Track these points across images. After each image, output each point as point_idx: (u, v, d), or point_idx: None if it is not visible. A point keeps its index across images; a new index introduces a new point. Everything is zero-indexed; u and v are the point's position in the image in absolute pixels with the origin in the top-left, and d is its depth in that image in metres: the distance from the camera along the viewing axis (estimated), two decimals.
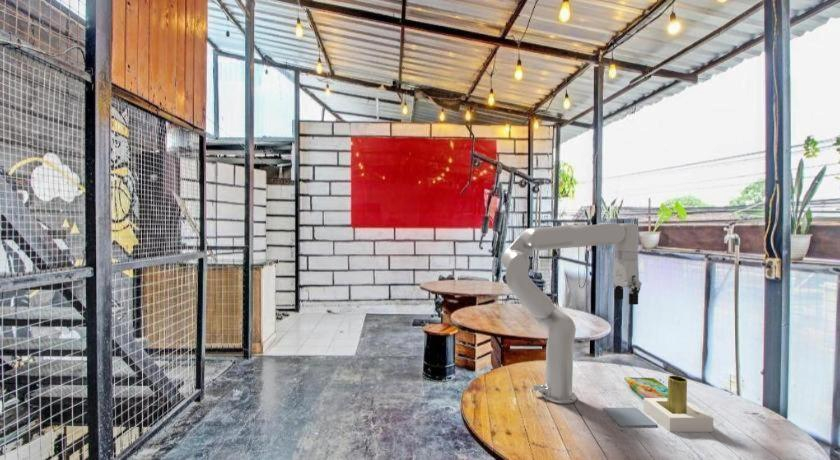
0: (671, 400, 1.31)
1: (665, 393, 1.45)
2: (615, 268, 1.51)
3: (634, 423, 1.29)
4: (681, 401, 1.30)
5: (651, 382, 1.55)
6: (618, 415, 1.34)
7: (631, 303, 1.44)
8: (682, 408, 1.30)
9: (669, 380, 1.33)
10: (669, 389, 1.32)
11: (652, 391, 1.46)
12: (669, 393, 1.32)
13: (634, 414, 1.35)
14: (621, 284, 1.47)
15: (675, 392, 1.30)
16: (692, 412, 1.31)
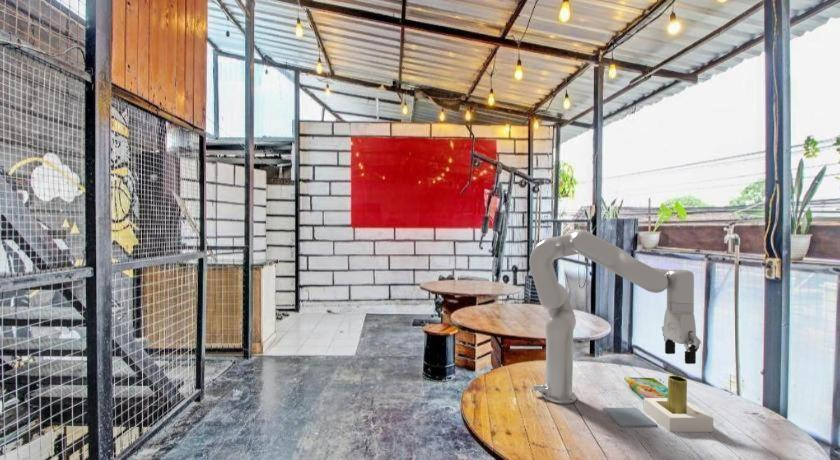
0: (671, 400, 1.31)
1: (665, 393, 1.45)
2: (666, 320, 1.34)
3: (634, 423, 1.29)
4: (681, 401, 1.30)
5: (651, 382, 1.55)
6: (618, 415, 1.34)
7: (688, 362, 1.27)
8: (682, 408, 1.30)
9: (669, 380, 1.33)
10: (669, 389, 1.32)
11: (652, 391, 1.46)
12: (669, 393, 1.32)
13: (634, 414, 1.35)
14: (675, 339, 1.30)
15: (675, 392, 1.30)
16: (692, 412, 1.31)
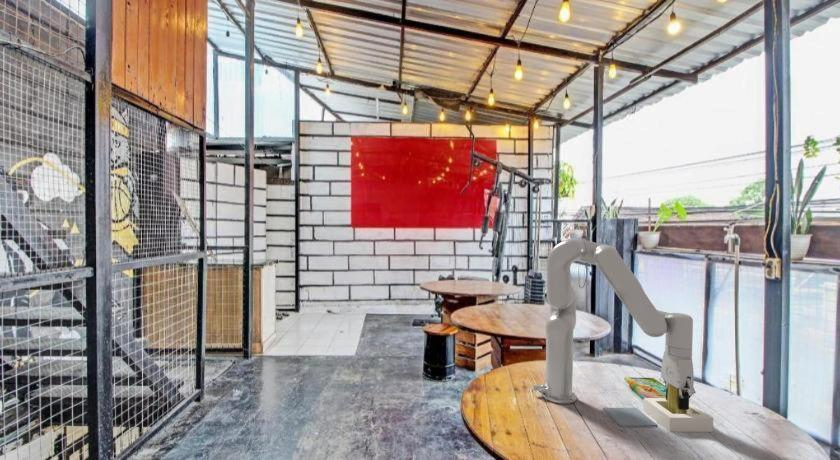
0: (671, 400, 1.31)
1: (665, 393, 1.45)
2: (665, 362, 1.35)
3: (634, 423, 1.29)
4: None
5: (651, 382, 1.55)
6: (618, 415, 1.34)
7: (681, 408, 1.29)
8: None
9: None
10: (669, 389, 1.32)
11: (652, 391, 1.46)
12: (669, 393, 1.32)
13: (634, 414, 1.35)
14: (673, 384, 1.30)
15: (675, 392, 1.30)
16: (692, 412, 1.31)
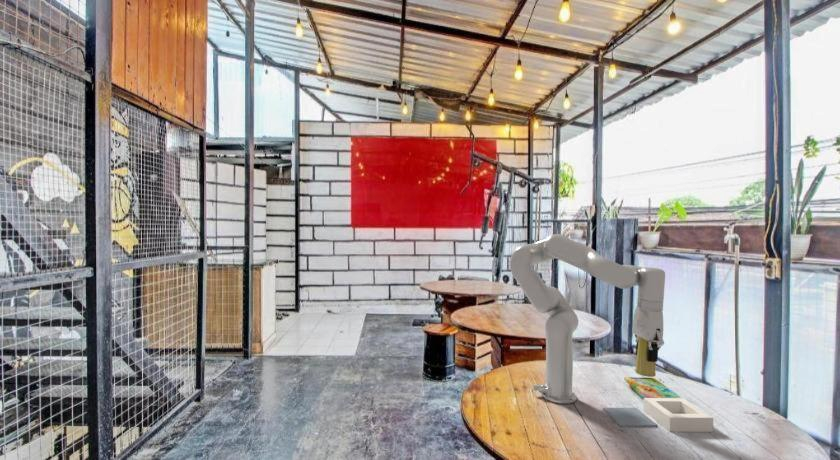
0: (640, 353, 1.32)
1: (665, 393, 1.45)
2: (636, 317, 1.35)
3: (634, 423, 1.29)
4: None
5: (651, 382, 1.55)
6: (618, 415, 1.34)
7: (650, 360, 1.30)
8: None
9: None
10: (639, 342, 1.33)
11: (652, 391, 1.47)
12: (639, 346, 1.33)
13: (634, 414, 1.35)
14: (643, 336, 1.31)
15: (645, 344, 1.31)
16: (692, 412, 1.31)
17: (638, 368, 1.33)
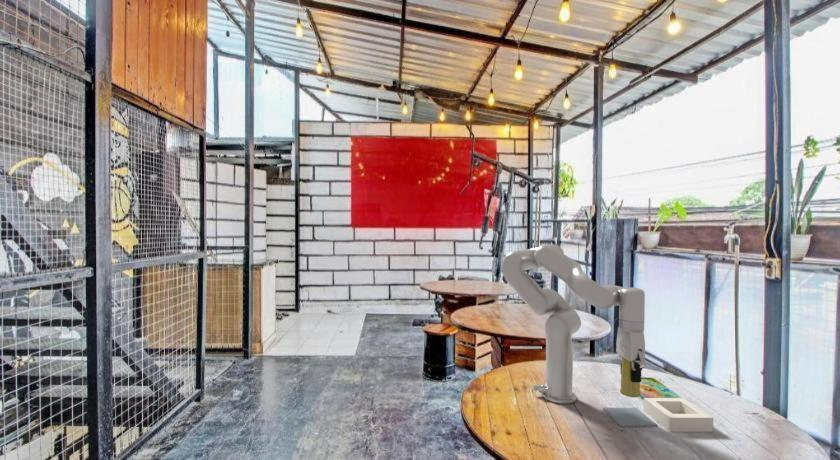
0: (624, 373, 1.33)
1: (665, 393, 1.45)
2: (619, 337, 1.36)
3: (634, 423, 1.29)
4: None
5: (651, 382, 1.56)
6: (618, 415, 1.34)
7: (633, 381, 1.30)
8: None
9: None
10: (623, 362, 1.34)
11: (652, 391, 1.47)
12: (623, 366, 1.34)
13: (634, 414, 1.35)
14: (625, 357, 1.32)
15: (628, 365, 1.32)
16: (692, 412, 1.31)
17: (623, 389, 1.33)
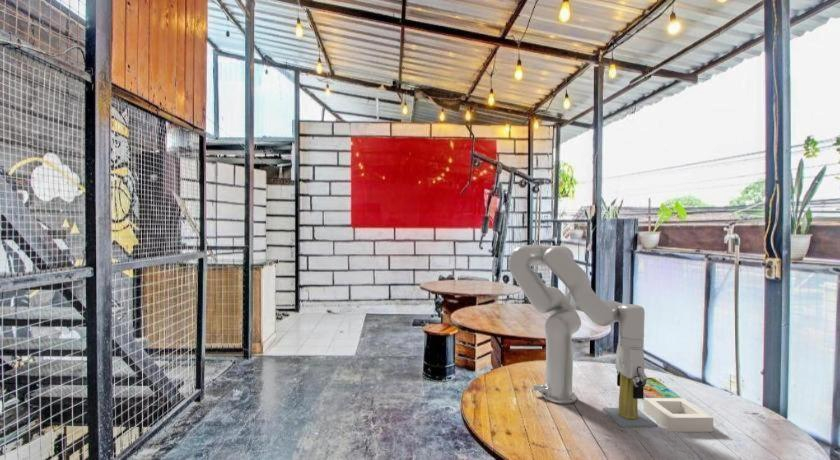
0: (622, 395, 1.33)
1: (665, 393, 1.45)
2: (618, 353, 1.36)
3: (634, 423, 1.29)
4: (632, 396, 1.32)
5: (651, 382, 1.56)
6: (618, 415, 1.34)
7: (635, 397, 1.29)
8: (632, 403, 1.32)
9: (621, 375, 1.34)
10: (621, 384, 1.34)
11: (652, 391, 1.47)
12: (621, 388, 1.34)
13: None
14: (625, 374, 1.32)
15: (626, 387, 1.32)
16: (692, 412, 1.31)
17: (620, 410, 1.34)
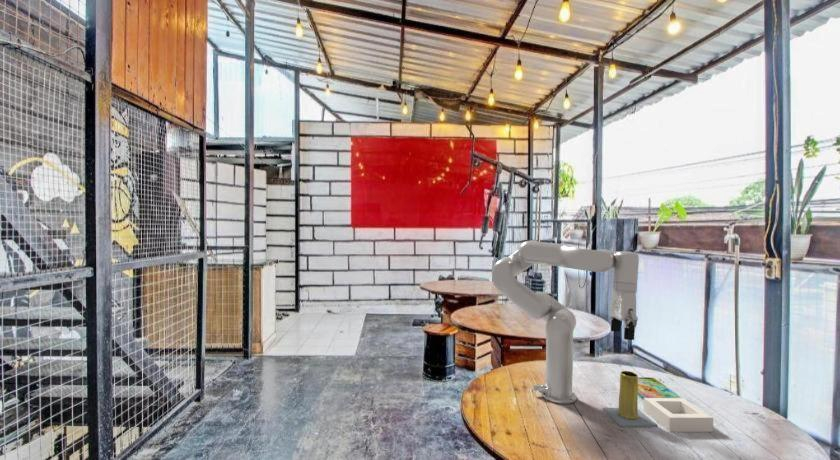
0: (622, 395, 1.33)
1: (665, 392, 1.45)
2: (612, 298, 1.42)
3: (634, 423, 1.29)
4: (632, 396, 1.32)
5: (651, 382, 1.56)
6: (618, 415, 1.34)
7: (626, 338, 1.34)
8: (632, 403, 1.32)
9: (621, 375, 1.34)
10: (621, 384, 1.34)
11: (652, 390, 1.47)
12: (621, 388, 1.34)
13: None
14: (617, 317, 1.37)
15: (626, 387, 1.32)
16: (692, 412, 1.31)
17: (620, 410, 1.34)
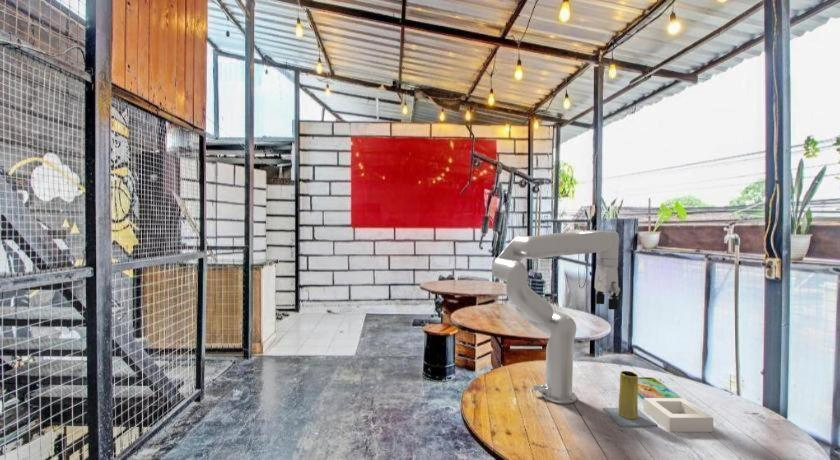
0: (622, 395, 1.33)
1: (665, 392, 1.45)
2: (596, 274, 1.57)
3: (634, 423, 1.29)
4: (632, 396, 1.32)
5: (650, 382, 1.56)
6: (618, 415, 1.34)
7: (610, 308, 1.49)
8: (632, 403, 1.32)
9: (621, 375, 1.34)
10: (621, 384, 1.34)
11: (652, 390, 1.47)
12: (621, 388, 1.34)
13: None
14: (601, 290, 1.52)
15: (626, 387, 1.32)
16: (692, 412, 1.31)
17: (620, 410, 1.34)
